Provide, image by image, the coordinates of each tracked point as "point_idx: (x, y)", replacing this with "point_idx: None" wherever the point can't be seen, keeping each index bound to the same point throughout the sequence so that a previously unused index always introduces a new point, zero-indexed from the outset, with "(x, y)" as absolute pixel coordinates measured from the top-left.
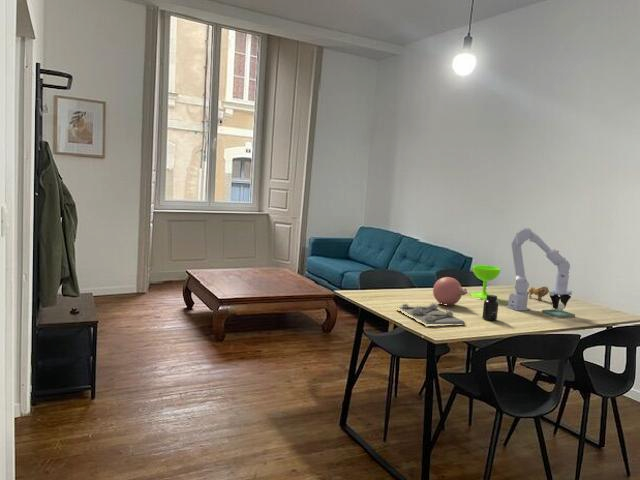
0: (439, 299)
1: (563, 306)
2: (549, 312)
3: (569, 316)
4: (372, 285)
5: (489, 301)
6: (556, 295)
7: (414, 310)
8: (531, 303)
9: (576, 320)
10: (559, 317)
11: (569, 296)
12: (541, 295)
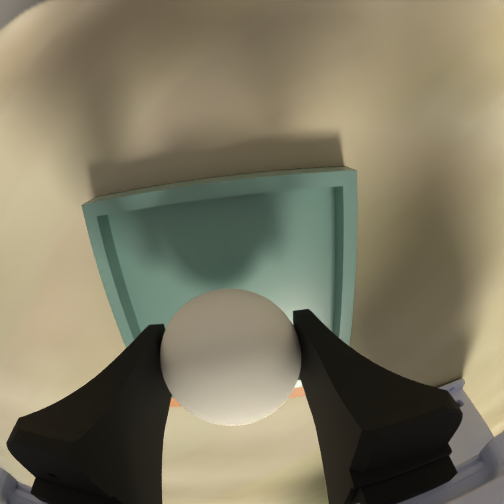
0: None
1: (208, 312)
2: (352, 308)
3: (175, 184)
4: None
5: None
6: (409, 481)
7: None
8: (209, 490)
9: (196, 54)
10: (347, 167)
11: (43, 445)
12: None
